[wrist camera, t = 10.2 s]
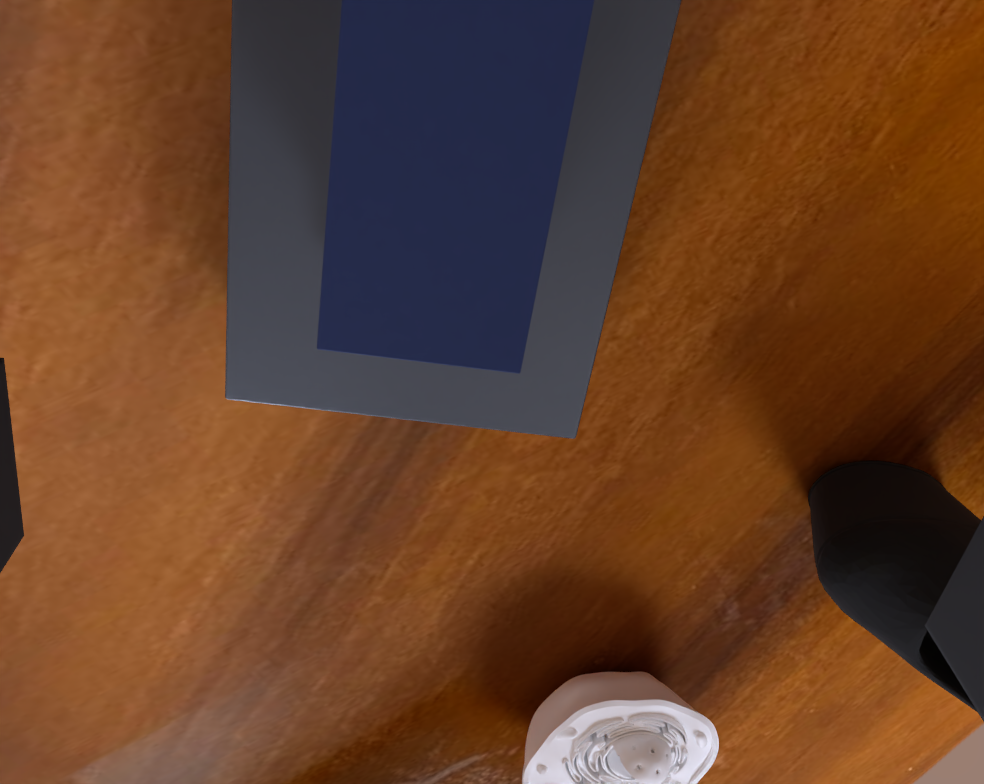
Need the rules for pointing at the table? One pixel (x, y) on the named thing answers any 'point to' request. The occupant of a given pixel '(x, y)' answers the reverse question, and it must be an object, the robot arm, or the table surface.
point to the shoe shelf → (302, 218)
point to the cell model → (617, 734)
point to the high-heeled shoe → (890, 554)
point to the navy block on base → (445, 174)
